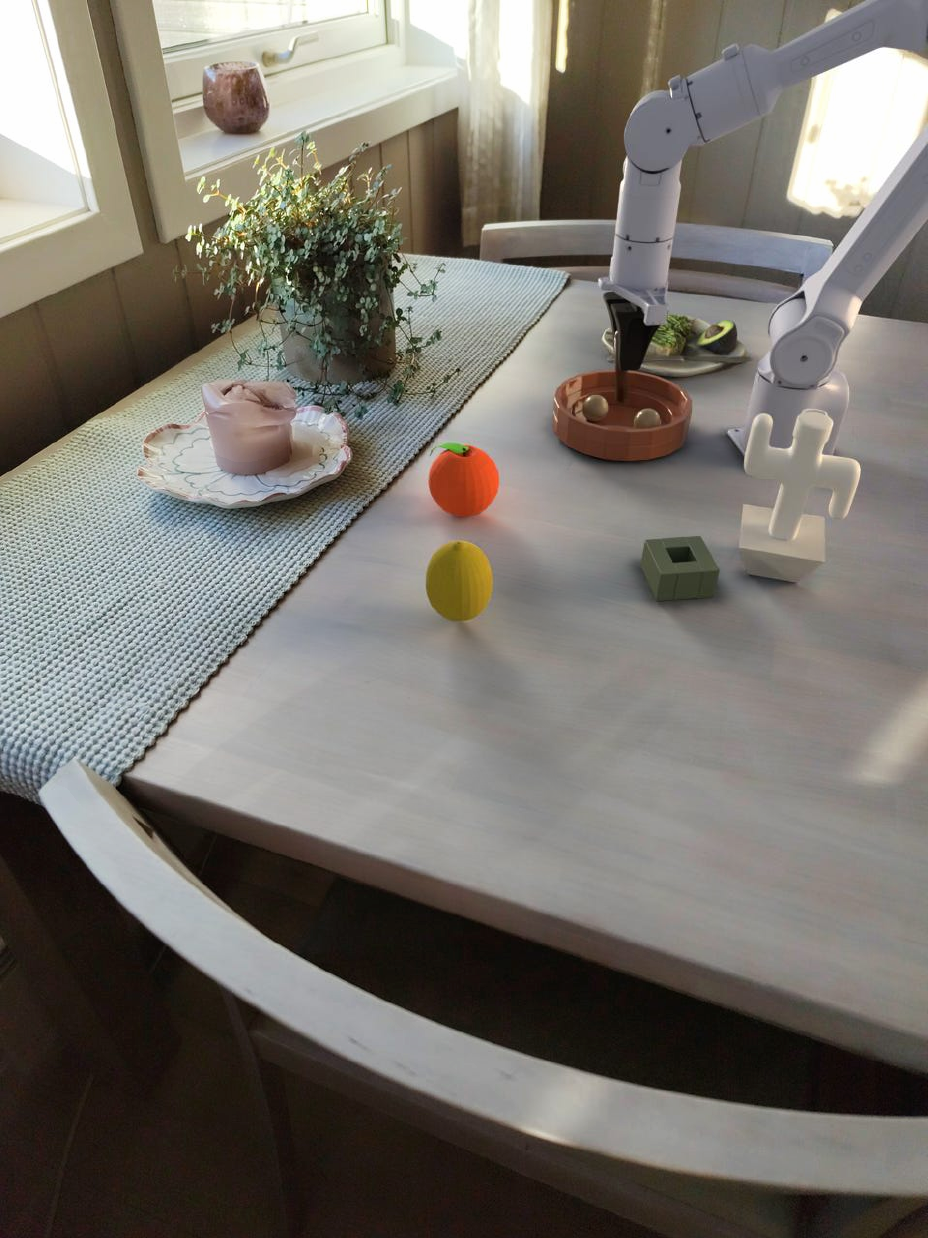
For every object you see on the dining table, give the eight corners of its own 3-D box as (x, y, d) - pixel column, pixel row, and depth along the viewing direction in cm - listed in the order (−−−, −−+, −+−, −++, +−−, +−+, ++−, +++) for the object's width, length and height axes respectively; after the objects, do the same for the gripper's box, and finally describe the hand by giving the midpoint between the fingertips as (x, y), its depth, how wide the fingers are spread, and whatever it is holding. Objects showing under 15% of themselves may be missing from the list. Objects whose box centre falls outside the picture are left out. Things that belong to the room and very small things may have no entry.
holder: (694, 562, 80) (700, 535, 78) (713, 597, 76) (720, 570, 74) (639, 566, 80) (644, 539, 78) (656, 601, 76) (661, 574, 74)
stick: (626, 398, 97) (625, 325, 92) (629, 404, 96) (629, 330, 91) (613, 400, 97) (612, 327, 92) (616, 406, 96) (616, 333, 91)
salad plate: (642, 398, 105) (647, 362, 102) (567, 344, 118) (570, 310, 115) (767, 369, 112) (776, 335, 109) (684, 321, 124) (689, 289, 121)
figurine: (826, 597, 76) (880, 446, 66) (717, 578, 78) (753, 428, 69) (826, 551, 81) (875, 404, 72) (723, 534, 84) (758, 389, 74)
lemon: (425, 600, 76) (422, 524, 71) (488, 597, 76) (490, 521, 71) (428, 642, 72) (426, 565, 66) (495, 639, 72) (497, 561, 67)
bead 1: (603, 413, 101) (606, 389, 100) (609, 425, 99) (612, 401, 97) (578, 414, 101) (580, 390, 99) (584, 426, 99) (586, 402, 97)
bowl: (663, 397, 106) (668, 366, 103) (704, 460, 94) (711, 427, 92) (541, 404, 104) (543, 372, 102) (567, 468, 93) (570, 435, 90)
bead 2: (654, 427, 99) (658, 403, 97) (662, 440, 97) (666, 415, 95) (629, 428, 99) (632, 404, 97) (636, 441, 96) (639, 417, 94)
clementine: (407, 508, 87) (404, 445, 82) (452, 481, 91) (452, 419, 86) (467, 539, 83) (467, 474, 78) (512, 509, 87) (515, 446, 82)
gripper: (587, 213, 90) (576, 339, 99) (623, 259, 79) (607, 396, 88) (653, 211, 91) (636, 337, 100) (697, 256, 80) (674, 393, 89)
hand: (626, 365), depth 94 cm, fingers closed on stick, 1 cm apart
